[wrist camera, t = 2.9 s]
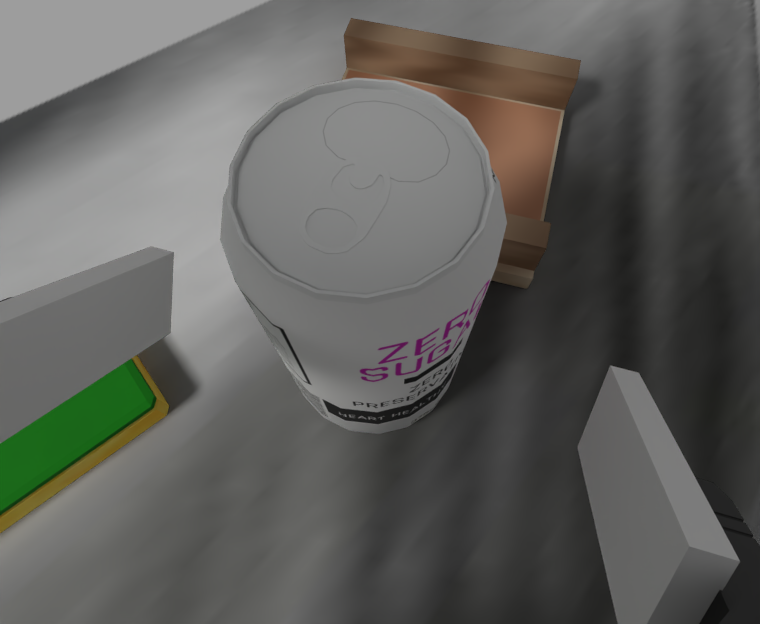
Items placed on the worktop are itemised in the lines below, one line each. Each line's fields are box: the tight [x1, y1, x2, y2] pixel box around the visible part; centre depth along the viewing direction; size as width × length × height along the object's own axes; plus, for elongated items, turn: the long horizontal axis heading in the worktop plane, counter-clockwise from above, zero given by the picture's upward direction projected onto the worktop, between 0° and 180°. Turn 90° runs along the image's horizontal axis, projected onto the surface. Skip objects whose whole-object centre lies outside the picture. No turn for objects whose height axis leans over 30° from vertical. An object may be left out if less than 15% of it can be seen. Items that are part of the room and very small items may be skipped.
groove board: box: [342, 18, 581, 289], centre depth 31 cm, size 14×14×4 cm
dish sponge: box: [0, 355, 169, 533], centre depth 25 cm, size 7×14×2 cm, turn 128°
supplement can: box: [220, 78, 507, 434], centre depth 21 cm, size 8×8×15 cm
